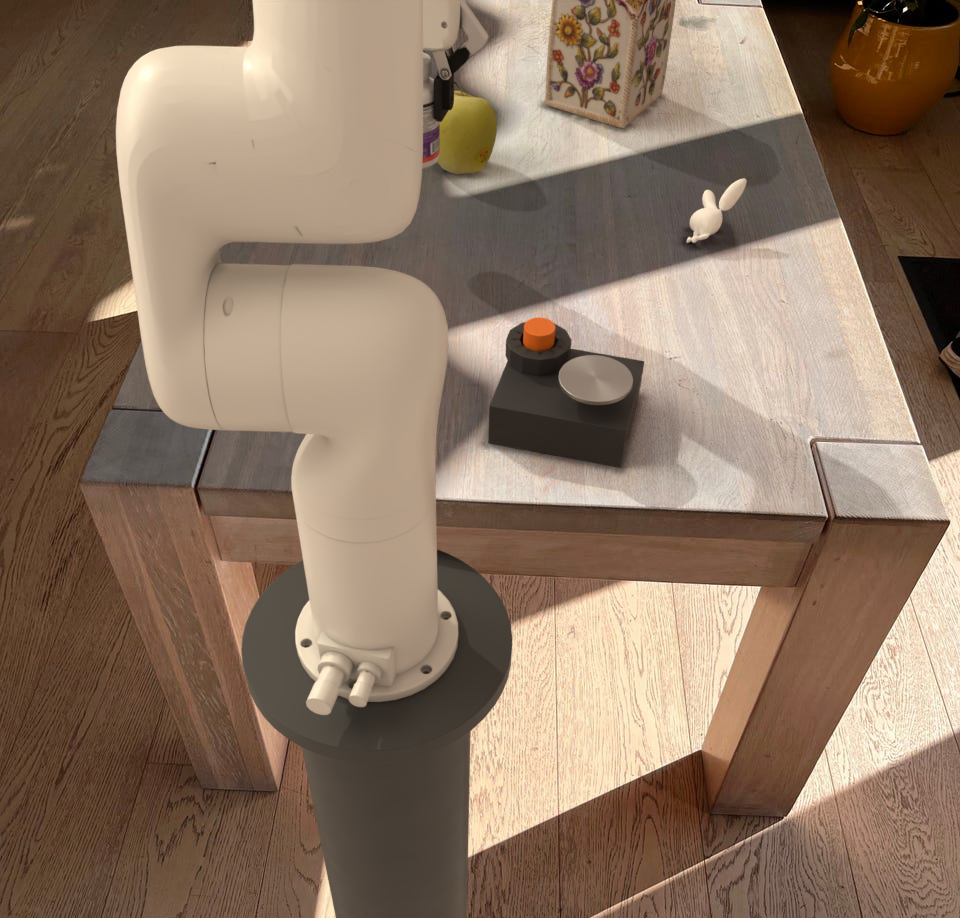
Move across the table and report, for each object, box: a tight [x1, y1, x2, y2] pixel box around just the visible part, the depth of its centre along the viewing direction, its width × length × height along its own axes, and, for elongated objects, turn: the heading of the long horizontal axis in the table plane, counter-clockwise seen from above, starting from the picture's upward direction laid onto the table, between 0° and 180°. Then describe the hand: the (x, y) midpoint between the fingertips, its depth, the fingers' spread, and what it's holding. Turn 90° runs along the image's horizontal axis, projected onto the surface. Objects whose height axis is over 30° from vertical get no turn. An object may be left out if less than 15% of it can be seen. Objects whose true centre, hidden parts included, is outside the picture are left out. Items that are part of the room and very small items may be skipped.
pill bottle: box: [422, 52, 440, 170], centre depth 107 cm, size 5×5×10 cm
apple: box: [436, 80, 498, 175], centre depth 124 cm, size 8×8×10 cm
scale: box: [487, 321, 645, 468], centre depth 97 cm, size 11×12×6 cm
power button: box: [523, 316, 556, 352], centre depth 97 cm, size 3×3×2 cm
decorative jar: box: [544, 0, 677, 129], centre depth 132 cm, size 12×12×18 cm
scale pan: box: [558, 355, 633, 405], centre depth 93 cm, size 6×6×1 cm
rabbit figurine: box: [686, 177, 748, 244], centre depth 118 cm, size 6×4×8 cm
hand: (412, 109), depth 107 cm, fingers closed on pill bottle, 5 cm apart
